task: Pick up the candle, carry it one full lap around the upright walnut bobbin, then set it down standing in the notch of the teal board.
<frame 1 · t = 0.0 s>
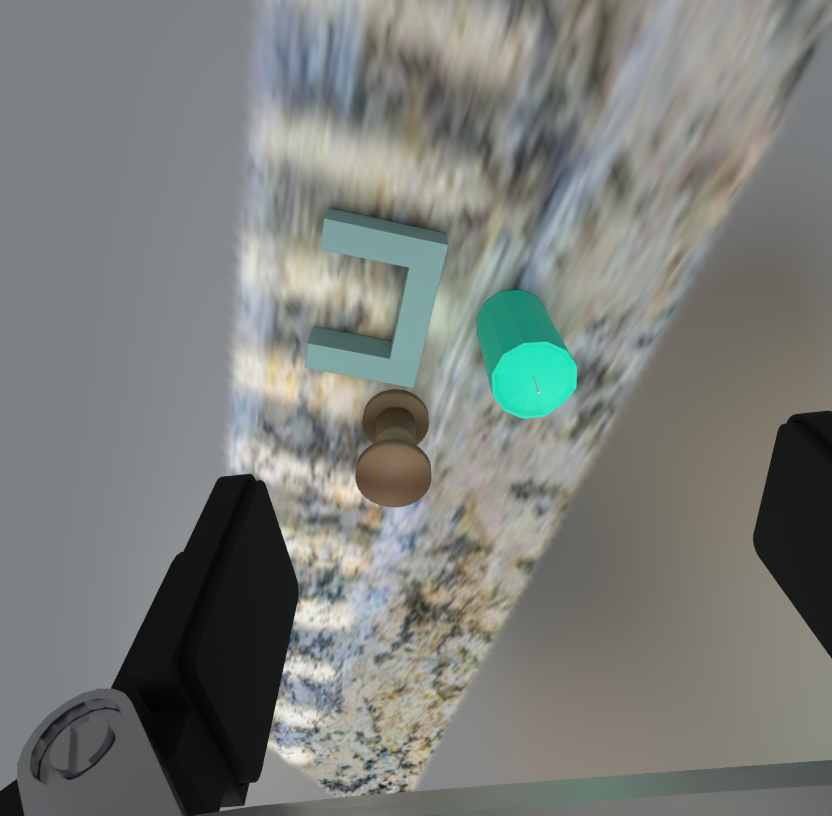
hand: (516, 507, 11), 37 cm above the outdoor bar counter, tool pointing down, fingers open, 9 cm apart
notch board: (374, 294, 47), on the outdoor bar counter
bobbin: (395, 418, 53), on the outdoor bar counter
candle: (510, 322, 48), on the outdoor bar counter
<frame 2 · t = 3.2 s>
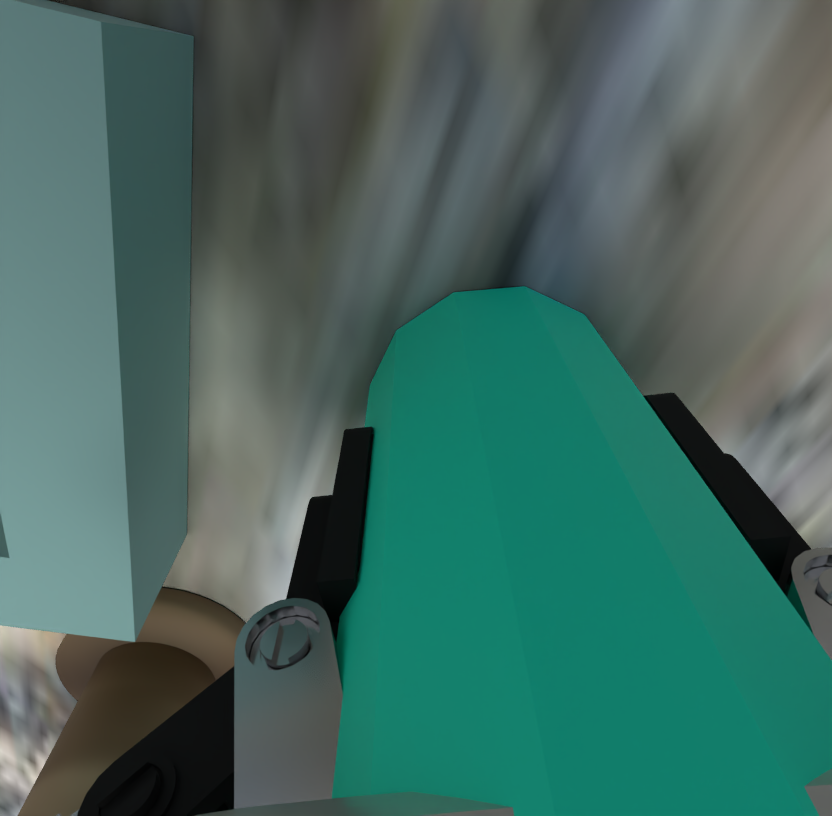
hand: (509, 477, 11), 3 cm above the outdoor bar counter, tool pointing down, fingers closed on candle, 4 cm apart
bobbin: (169, 651, 19), on the outdoor bar counter
candle: (490, 399, 14), on the outdoor bar counter, touching gripper
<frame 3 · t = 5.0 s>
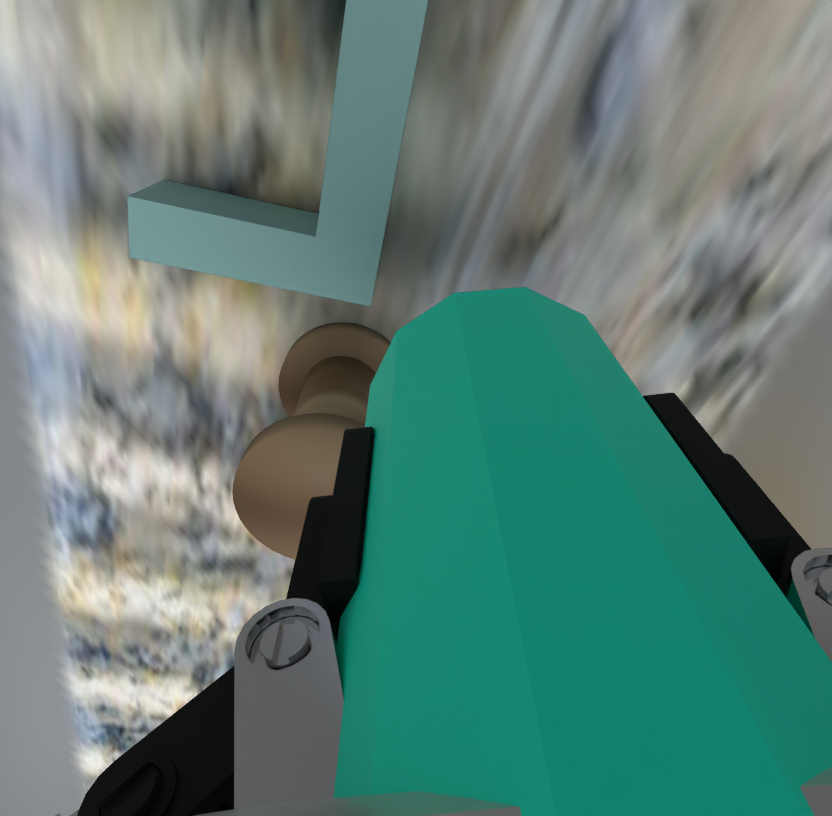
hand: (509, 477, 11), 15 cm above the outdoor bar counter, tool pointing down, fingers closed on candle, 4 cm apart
notch board: (286, 102, 22), on the outdoor bar counter
bobbin: (345, 380, 28), on the outdoor bar counter
candle: (490, 399, 14), point 12 cm above the outdoor bar counter, touching gripper
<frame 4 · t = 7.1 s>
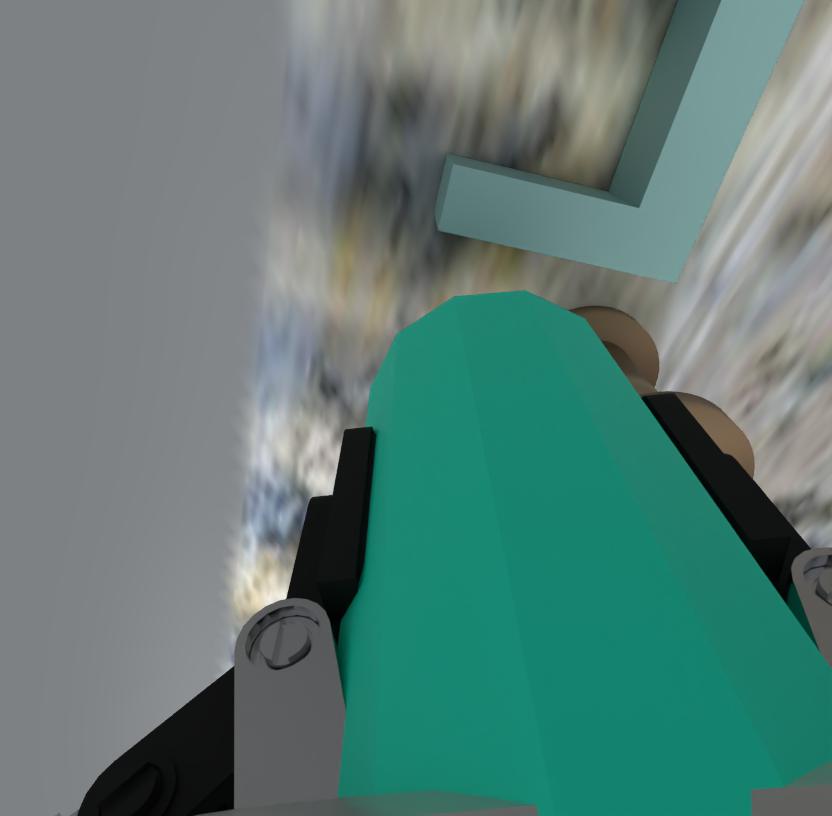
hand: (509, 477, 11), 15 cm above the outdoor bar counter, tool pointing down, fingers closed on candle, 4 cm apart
notch board: (593, 69, 21), on the outdoor bar counter
bobbin: (585, 367, 26), on the outdoor bar counter
candle: (491, 403, 14), point 12 cm above the outdoor bar counter, touching gripper
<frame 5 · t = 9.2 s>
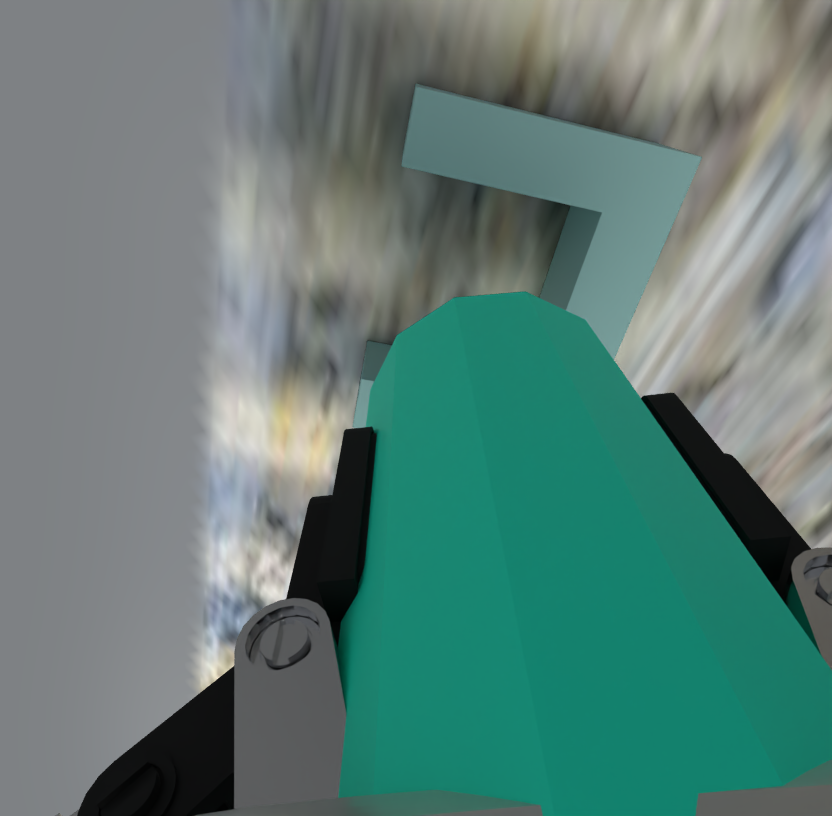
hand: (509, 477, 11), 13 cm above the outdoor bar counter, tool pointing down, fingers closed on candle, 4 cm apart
notch board: (493, 277, 23), on the outdoor bar counter
candle: (491, 404, 14), point 10 cm above the outdoor bar counter, touching gripper
when the fingers open (4 cm above the outdoor bar counter, at t = 11.1 s): candle drops 1 cm, on the outdoor bar counter.
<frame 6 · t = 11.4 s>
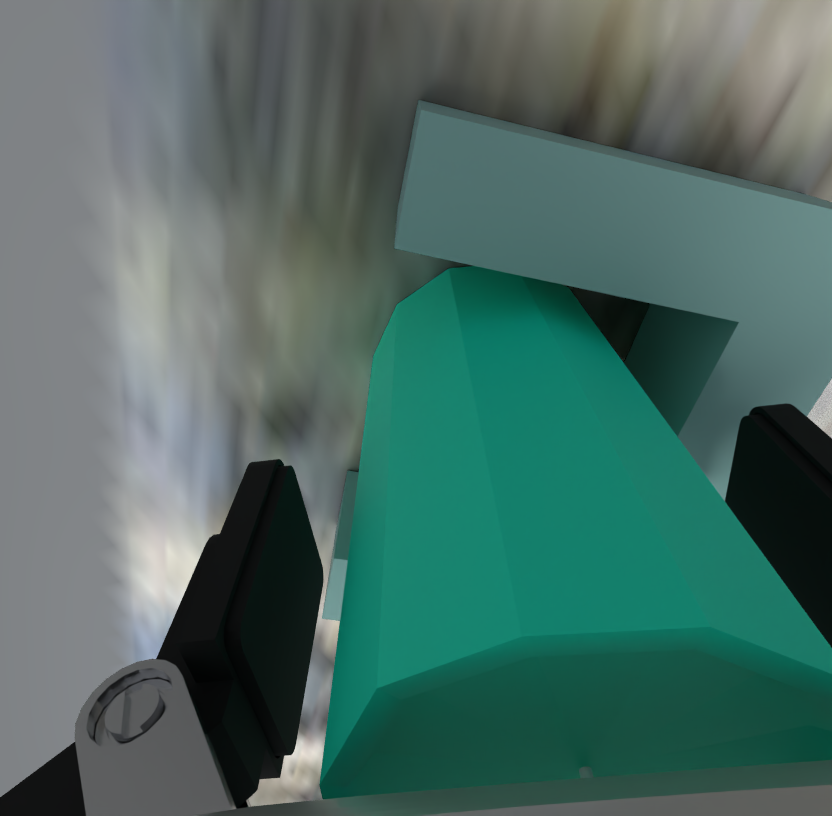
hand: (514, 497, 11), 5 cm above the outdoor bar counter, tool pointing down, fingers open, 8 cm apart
notch board: (534, 386, 15), on the outdoor bar counter
candle: (484, 368, 15), on the outdoor bar counter
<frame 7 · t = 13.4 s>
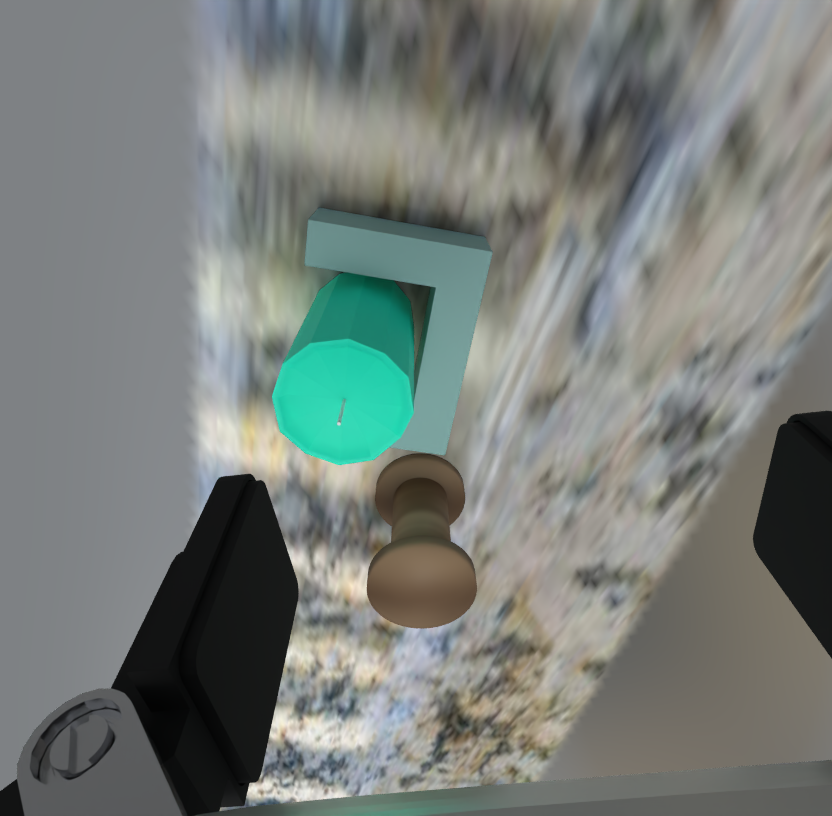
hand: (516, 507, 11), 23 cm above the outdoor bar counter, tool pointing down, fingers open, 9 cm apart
notch board: (386, 326, 33), on the outdoor bar counter
bobbin: (420, 490, 39), on the outdoor bar counter
candle: (363, 319, 33), on the outdoor bar counter
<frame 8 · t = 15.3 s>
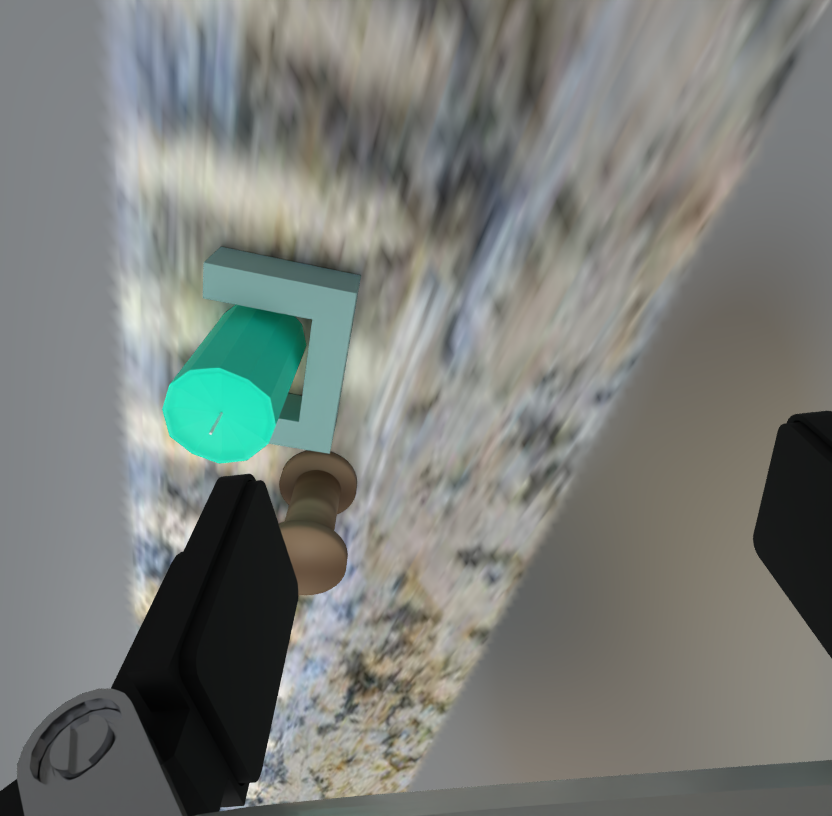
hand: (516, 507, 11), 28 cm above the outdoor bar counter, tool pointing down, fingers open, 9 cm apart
notch board: (283, 344, 40), on the outdoor bar counter
bobbin: (319, 480, 46), on the outdoor bar counter
candle: (263, 337, 40), on the outdoor bar counter
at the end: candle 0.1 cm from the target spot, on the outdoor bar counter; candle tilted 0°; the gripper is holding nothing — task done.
